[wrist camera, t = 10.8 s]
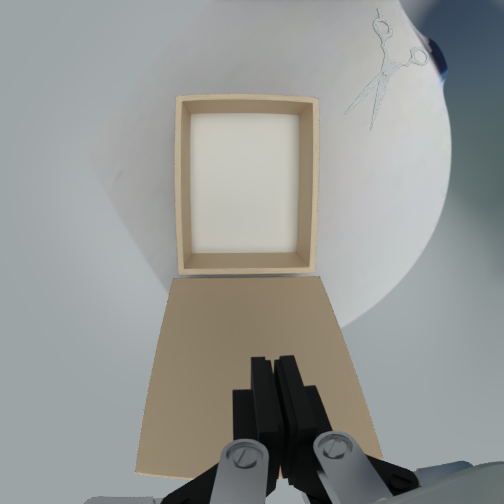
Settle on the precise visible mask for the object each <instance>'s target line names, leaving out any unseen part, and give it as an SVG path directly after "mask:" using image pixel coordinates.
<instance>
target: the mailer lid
mask: <svg viewBox="0 0 504 504" xmlns="http://www.w3.org/2000/svg"><path fill="white" fill-rule="evenodd" d="M284 355H294V356H295V359H296V362H297V366H298V369H299V372H300V375H301V378H302V381H303V384H304V386H309V385H315V386H316V387H317V389H318V392H319V395H320V397H321V400H322V403H323V405H324V408H325V411H326V413H327V416H328V419H329V421H330V424H331V427H332V429H333V431H341V432H345V433H347V434H349V435H351V436H352V437H353V438H354V439H355V440H356V442H357V443H358V445H359V446H360V448H361V449H362V451H363V452H364V454H367V455H369V456H372V457H374V458H377V459H380V460H382V459H383V455H382V452H381V449H380V445H379V442H378V439H377V436H376V433H375V429H374V426H373V423H372V419H371V416H370V413H369V410H368V407H367V405H366V401H365V398H364V395H363V392H362V389H361V386H360V383H359V380H358V377H357V374H356V372H355V369H354V366H353V363H352V360H351V357H350V355H349V352H348V349H347V346H346V344H345V341H344V338H343V335H342V333H341V330H340V327H339V325H338V322H337V319H336V317H335V314H334V311H333V309H332V306H331V304H330V301H329V298H328V296H327V293H326V291H325V288H324V286H323V283H322V281H321V278H320V276H313V277H268V278H173V282H172V286H171V289H170V293H169V297H168V301H167V306H166V310H165V314H164V318H163V323H162V327H161V331H160V335H159V340H158V344H157V349H156V354H155V358H154V363H153V368H152V373H151V378H150V383H149V388H148V394H147V399H146V405H145V411H144V416H143V422H142V428H141V434H140V441H139V448H138V454H137V462H136V469H135V472H136V473H137V474H142V475H148V476H156V477H166V478H175V479H187V480H193V479H194V478H196V477H198V476H199V475H201V474H202V473H204V472H205V471H207V470H208V469H210V468H211V467H212V466H214V465H215V464H217V463H218V462H219V461H220V456H221V452H222V450H223V448H224V447H225V446H226V445H227V444H228V443H230V442H232V441H233V402H232V390H236V389H251V357H263V356H265V359H266V360H271V364H272V369H273V373H274V360H276V359H279V356H284ZM280 478H282V473H281V467H280V472H279V478H278V479H280Z"/></svg>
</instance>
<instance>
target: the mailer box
mask: <svg viewBox="0 0 504 504" xmlns="http://www.w3.org/2000/svg"><path fill="white" fill-rule="evenodd" d="M318 188H319V102H318V98H313V97H302V96H288V95H270V94H200V95H182V96H176V114H175V214H176V240H177V259H178V274H282V273H315V259H316V241H317V219H318Z"/></svg>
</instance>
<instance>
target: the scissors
mask: <svg viewBox="0 0 504 504" xmlns="http://www.w3.org/2000/svg"><path fill="white" fill-rule="evenodd" d="M377 11H378V15H379V18H377V19H376V20H374V22H373V28H374V30H375V32H376V33H377V34H378V36H379V37H380V39H381V41H382V43H381V48H382V49H383V52H384V55H385V56H384V60H383V64H382V68H381V72H380V73H379V74H378V75H377V76H376V77H375V78H374V79H373V80H372V81H371V82H370V83H369V84H368V86H367V87H366V88H365V89H364V90H363V92H362V93H361V94H360V95H359V97H358V98H357V99H356V100H355V101H354V102H353V104H352V105H351V106H350V107H349V109H348V110H347V111H346V113H347V112H348V111H349V110H350V109H351V108H353V107H354V106H355V105H356V104H357V103H359V102H360V101H361V100H362V99H363V98H364V97H365V96H366V95H367V94H368V93H369V92H370V91H371V90H372V89H373V88H374V86H375V85H376V84H377V82H378V81H379V85H378V91H377V96H376V102H375V108H374V114H373V119H372V125H373V123H374V120H375V117H376V115H377V112H378V109H379V107H380V104H381V101H382V98H383V96H384V92H385V89H386V86H387V83H388V79H389V76H391V75H392V74H393V73H394V72H395V71H396V70H397V69H398V68H399V67H400V66H409V64H410V63H415V64H418V65H426V64H427V63H428V61H429V56H428V53H427V52H426V50H424V49H423V48H421V47H415V48H413V49H412V50H410V52H411V59H409V61H408V62H404V63H390V60H389V57H388V54H387V51H386V48H385V41H386V38H387V37H391V36H393V31H392V28H391V26H390V24H389V23H388V22H387V21H386V20H384V19H383V16H382V13H381V12H382V11H381V9H380V8H377ZM380 21H381V22H384V23H385V24H386V25H387V26H388V29H389V31H388V33H387V34H382V33H381V32H379V31H378V29H377V23H378V22H380ZM417 50H421V51H422V52H424V54H425V55H426V61H425V62H424V63H421V62H419V61H417V60H416V58H415V54H414V53H415V52H416V51H417ZM346 113H345V114H346ZM372 125H371V128H372ZM370 131H371V130H370Z"/></svg>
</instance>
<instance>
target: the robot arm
mask: <svg viewBox="0 0 504 504" xmlns="http://www.w3.org/2000/svg"><path fill="white" fill-rule="evenodd" d="M232 402H233V441H232V442H230V443H228V444H227V445H226V446H225V447H224V448H223V450H222V452H221V456H220V461H219V462H218V463H217V464H215V465H214V466H212V467H211V468H210V469H208V470H207V471H205V472H204V473H202V474H201V475H199V476H198V477H196V478H194V479H193V480H191V481H190V482H188V483H187V484H185V485H183V486H182V487H180V488H178V489H177V490H175V491H174V492H172V493H170V494H168V495H167V496H166V497H165V498H160V499H154V498H153V497H92V498H91V499H88V500H87V501H86V502H85V503H84V504H265V499H266V497H267V496H268V495H269V494H270V493H271V492H272V491H274V490H275V488H276V481H277V479H278V478H279V472H280V467H281V473H282V478H283V479H285V478H288V482H289V485H293V486H294V487H295V488H296V489H298V490H300V491H301V493H302V497H303V500H304V502H305V504H504V462H502V461H499V462H489V463H484V464H479V465H476V466H473V465H472V464H470V463H469V462H466V461H457V462H453V463H447V464H442V465H437V466H432V467H426V468H419V469H417V470H416V471H415V472H412V471H410V470H408V469H405V468H402V467H399V466H397V465H394V464H391V463H388V462H385V461H382V460H380V459H377V458H374V457H372V456H369V455H367V454H364V452H363V451H362V449H361V448H360V446H359V445H358V443H357V442H356V440H355V439H354V438H353V437H352V436H351V435H349V434H347V433H345V432H341V431H333V429H332V427H331V424H330V421H329V419H328V416H327V413H326V411H325V408H324V405H323V403H322V400H321V397H320V395H319V392H318V389H317V387H316V386H315V385H309V386H304V384H303V381H302V378H301V375H300V372H299V369H298V366H297V362H296V359H295V356H294V355H284V356H279V359H276V360H274V373H273V369H272V364H271V360H266V359H265V356H263V357H251V389H236V390H232Z"/></svg>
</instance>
